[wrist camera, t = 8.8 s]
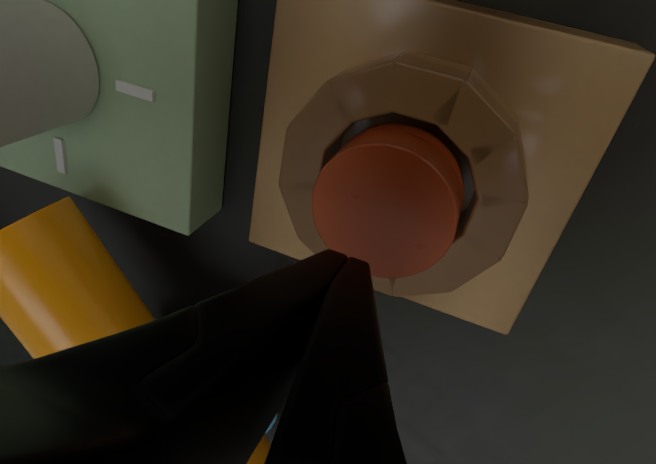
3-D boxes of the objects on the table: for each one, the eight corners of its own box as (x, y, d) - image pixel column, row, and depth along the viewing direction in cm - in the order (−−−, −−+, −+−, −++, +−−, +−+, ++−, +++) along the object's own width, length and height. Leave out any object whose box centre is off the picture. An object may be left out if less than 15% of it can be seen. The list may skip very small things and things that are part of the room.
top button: (322, 222, 14) (300, 251, 13) (346, 105, 12) (324, 123, 11) (439, 263, 14) (430, 298, 12) (484, 146, 12) (481, 171, 10)
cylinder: (385, 411, 22) (219, 117, 18) (304, 690, 13) (-53, 244, 9) (200, 435, 28) (42, 216, 24) (59, 641, 19) (-228, 352, 15)
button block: (272, 216, 19) (222, 267, 16) (309, -35, 14) (248, -37, 11) (508, 298, 17) (506, 375, 14) (637, 43, 13) (681, 68, 9)
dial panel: (10, 134, 22) (-46, 152, 20) (-37, -134, 17) (-121, -150, 14) (222, 209, 20) (185, 239, 18) (244, -70, 15) (196, -77, 12)
